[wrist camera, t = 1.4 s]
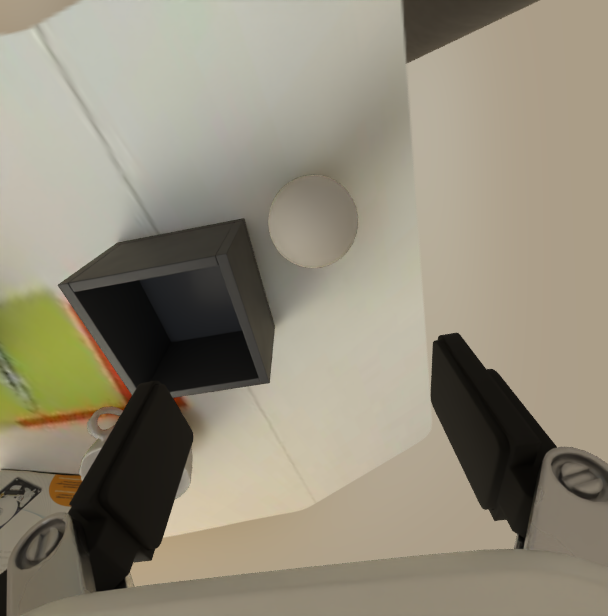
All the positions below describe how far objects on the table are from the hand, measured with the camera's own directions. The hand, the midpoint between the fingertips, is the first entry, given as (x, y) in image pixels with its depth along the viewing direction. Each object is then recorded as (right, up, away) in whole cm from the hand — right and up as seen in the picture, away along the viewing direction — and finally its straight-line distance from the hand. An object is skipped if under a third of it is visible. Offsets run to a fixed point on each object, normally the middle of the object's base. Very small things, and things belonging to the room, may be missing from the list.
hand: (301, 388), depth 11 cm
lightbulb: (0, +13, +17) cm, 22 cm away
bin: (-11, +5, +22) cm, 25 cm away
